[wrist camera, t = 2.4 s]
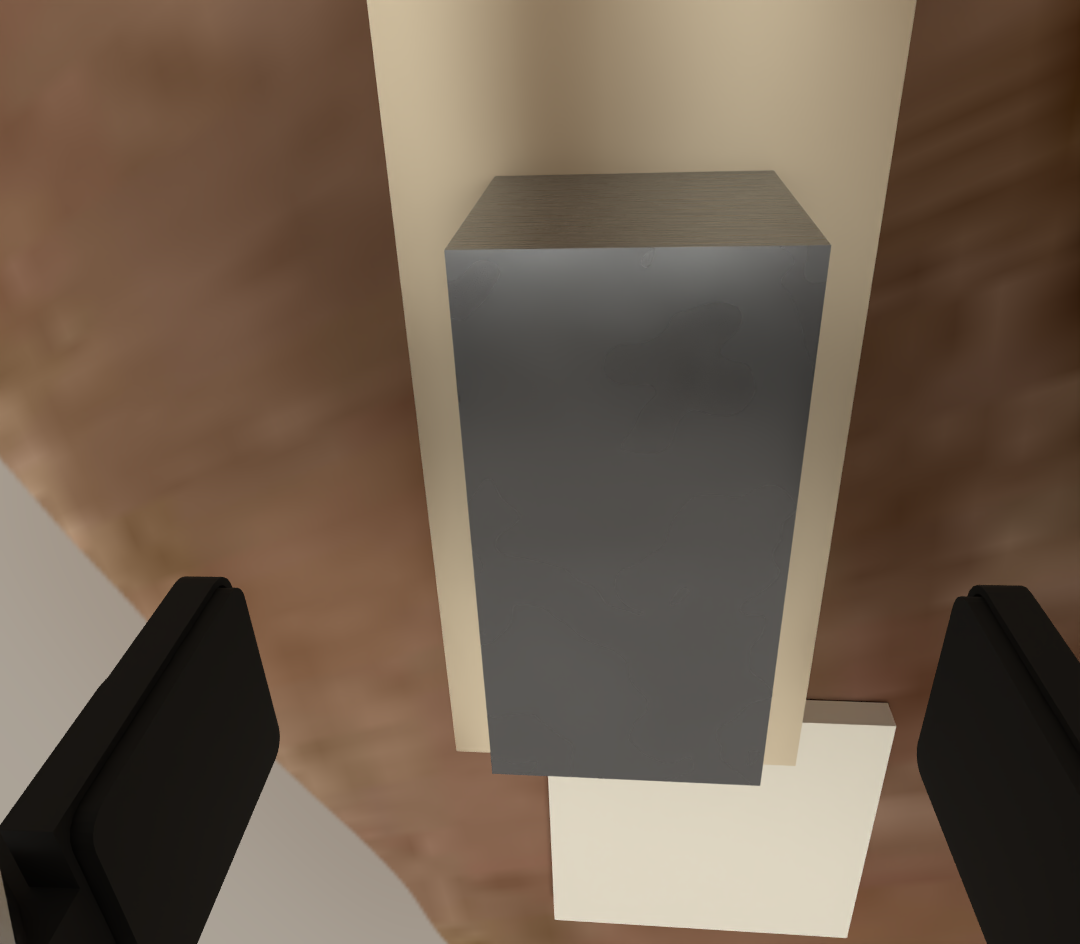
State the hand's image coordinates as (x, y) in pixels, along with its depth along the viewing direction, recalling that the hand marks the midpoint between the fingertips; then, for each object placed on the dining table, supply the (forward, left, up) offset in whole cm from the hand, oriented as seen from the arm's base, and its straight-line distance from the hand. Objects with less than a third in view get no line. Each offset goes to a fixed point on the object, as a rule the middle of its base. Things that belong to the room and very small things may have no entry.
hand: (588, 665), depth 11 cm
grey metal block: (-1, 0, -8) cm, 8 cm away
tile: (-4, +18, -13) cm, 22 cm away
